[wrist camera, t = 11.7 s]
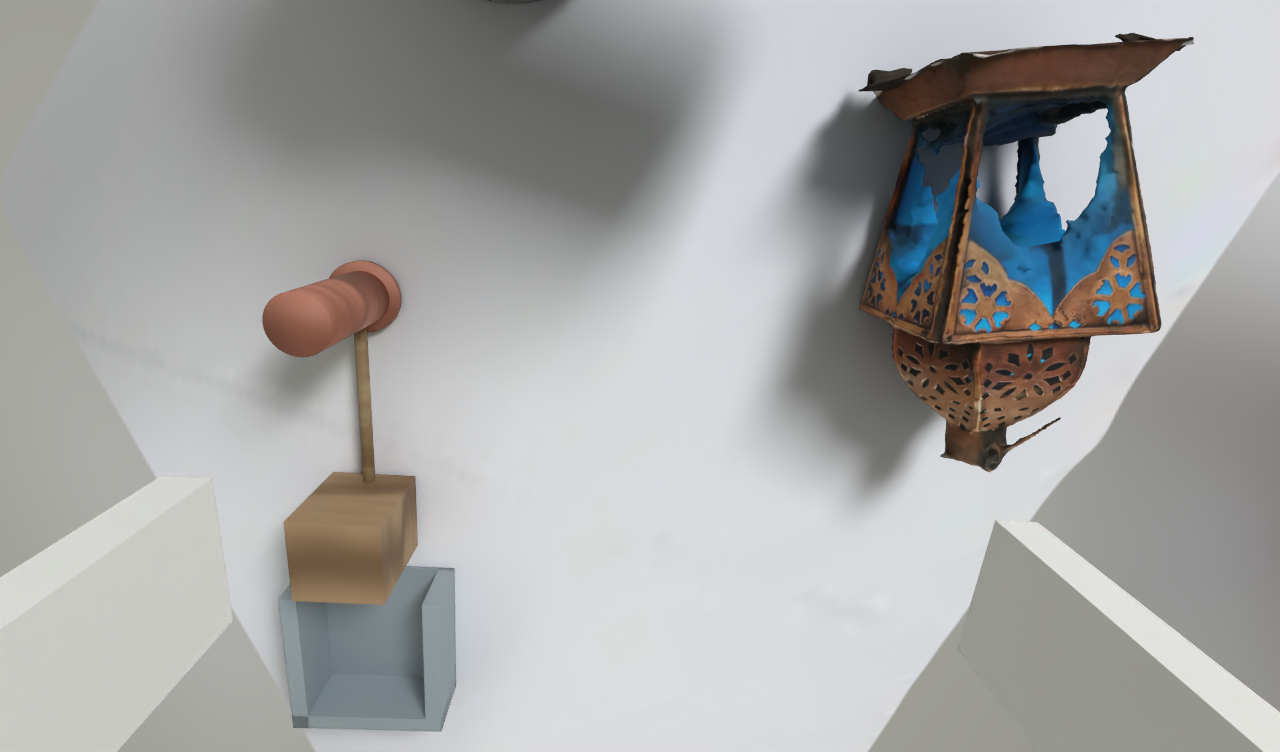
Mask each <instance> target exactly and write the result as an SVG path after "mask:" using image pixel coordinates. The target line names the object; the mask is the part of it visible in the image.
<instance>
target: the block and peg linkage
mask: <svg viewBox="0 0 1280 752" xmlns="http://www.w3.org/2000/svg"><path fill="white" fill-rule="evenodd" d="M400 308H401V292H400V288H399V286H398V284H397V282H396V280H395V279H394V277H393V276H392V275H391V274H390V273H389V272H388V271H387V270H386V269H384V268H383V267H381V266H380V265H378V264H375V263H373V262H369V261H354V262H350V263H346V264H344V265H342V266H340V267H338V268H337V269H336V270H335V271H334V272H333V273H332V274H331V276H330V277H329V279H326V280H323V281H320V282H317V283H313V284H310V285H307V286H304V287H300V288H297V289H294V290H291V291H287V292H284V293H281V294H279V295H276V296H275V297H273V298H272V299H271V300H270V301H269V302H268V303H267V305H266V306H265V309H264V312H263V318H262V319H263V327H264V330H265V333H266V335H267V337H268V338H269V340H270V341H271V342H272V343H273V344H274V345H275V346H276V347H277V348H278V349H279V350H281V351H282V352H284V353H286V354H289V355H292V356H296V357H309V356H313V355H315V354H318V353H319V352H321V351H323V350H325V349H327V348H329V347H330V346H332V345H334V344H336V343H338V342H339V341H341V340H343V339H345V338H347V337H349V336H350V335H352V334H354V339H355V355H356V371H357V387H358V403H359V419H360V435H361V451H362V468H363V474H362V473H344V472H333V473H332V474H331V475H330V476H329V477H328V478H327V479H326V480H325V481H324V482H323V483H322V484H321V485H320V486H319V487H318V488H317V489H316V490H315V491H314V492H313V493H312V494H311V495H310V496H309V497H308V498H307V499H306V500H305V501H304V502H303V503H302V504H301V505H300V506H299V507H298V508H297V509H296V510H295V511H294V512H293V513H292V514H291V515H290V516H289V517H288V518H287V519H286V520H285V521H284V530H285V539H286V548H287V558H288V567H289V576H290V585H291V594H292V601H303V602H328V603H352V604H377V605H385V603H386V601H387V599H388V597H389V596H390V594H391V592H392V590H393V588H394V587H395V585H396V583H397V581H398V579H399V578H400V576H401V574H402V572H403V570H404V569H405V567H406V565H407V563H408V561H409V560H410V558H411V556H412V554H413V552H414V551H415V549H416V547H417V545H418V544H417V514H416V484H415V476H398V475H380V474H375V466H374V448H373V430H372V412H371V394H370V376H369V358H368V340H367V332H373V331H377V330H380V329H382V328H384V327H385V326H387V325H389V324H390V323H391V322H392V321H393V320H394V319H395V318H396V317H397V315H398V313H399V311H400Z"/></svg>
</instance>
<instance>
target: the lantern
mask: <svg viewBox="0 0 1280 752" xmlns="http://www.w3.org/2000/svg"><path fill="white" fill-rule="evenodd" d="M1115 37H1117V38H1119V39H1121V40H1122V41H1123V42H1116V43H1104V44H1091V45H1077V44H1073V45H1057V46H1042V47H1024V48H1016V49H1009V50H1001V51H986V52H969V53H961V54H959V55H957V56H954V57H952V58H950V59H939V60H937V61H935V62H933V63H931V64H929V65H927V66H926V67H924V68H922V69H921V70H919V71H917V72H916V73H913V74H910V73H911V72H912V69H906V68H902V69H897V70H893V71H882V70H872V71H871V72H870V74H869V75H868V83H867V86H866V87H865V88H863V89H861V90H859V91H873V92H874V93H875V95H876V96H877V98H878V100H879V101H880V103H881V104H883V105H884V106H886V107H887V108H888V109H890V110H891V111H892V112H894V114H895V115H896V116H897V117H898V118H900V119H902V120H910V119H912V120H913V130H912V134H911V137H910V140H909V143H908V147H907V150H906V153H905V156H904V159H903V162H902V165H901V168H900V172H899V175H898V178H897V182H896V186H895V189H894V193H893V196H892V199H891V202H890V205H889V208H888V210H887V214H886V217H885V219H884V227H883V231H882V233H881V237H880V240H879V243H878V247H877V251H876V254H875V257H874V261H873V264H872V267H871V270H870V273H869V276H868V279H867V284H866V288H865V292H864V294H863V298H862V300H861V304H860V309H861V310H863V311H865V312H866V313H870V314H872V315H874V316H877V317H879V318H882V319H883V320H885V321H887V322H889V324H891V325H892V326H893V327H894V329H893V331H894V333H893V334H892V340H893V342H894V343H893V345H892V351H893V355H892V356H893V359H894V361H895V362H896V366H897V368H898V371H899V372H900V374H901V377H902V378H903V380H904V381H905V383H906V384H907V385H908V386H909V388H910V389H911V390H912V391H913V392H914V393H915V394H916V395H917V396H918V397H919V398H920V399H921V400H922V401H924V402H925V403H927V404H928V405H929V406H930V407H931V408H933V409H934V410H935V411H937V412H938V413H939V414H940V415H941V416H942V417H944V418H945V419H946V433H945V444H946V445H945V453H944V454H941V457H943V458H950V459H955V460H958V461H963V462H965V463H967V464H970V465H976V466H979V467H981V468H982V469H984V470H985V471H988V472H992V471H993V470H994V469H996V468H997V467H998V465H999V464H1000V463H1001V461H1002V458H1003V457H1004V456H1005V454H1006V453H1007V452H1008V451H1010V450H1011V449H1013V448H1014V447H1017V446H1018V445H1020V444H1022V443H1023V442H1024V441H1026V440H1028V439H1030V438H1031V437H1033V436H1035V435H1036V434H1038V433H1039V432H1040V431H1042V430H1043V429H1046V428H1047V427H1048V426H1050V425H1051V424H1053V423H1055V422H1057V421H1058V420H1060V419H1061V418H1058V419H1056V420H1054V421H1052V422H1051V423H1048V424H1046V425H1045V426H1043V427H1042V428H1041V429H1038V431H1036V432H1034V433H1032V434H1031V435H1029V436H1026V437H1024V438H1020V439H1019V440H1018V441H1017V442H1016V443H1014V444H1013V445H1007V443H1006V429H1007V427H1008V426H1010V425H1013V424H1015V423H1016V422H1018V421H1021V420H1024V419H1026V418H1028V417H1031V416H1033V415H1034V414H1036V413H1038V412H1039V411H1041V410H1043V409H1044V408H1046V407H1047V406H1049V405H1050V404H1052V403H1053V402H1055V401H1056V400H1058V399H1060V398H1061V397H1062V396H1064V395H1065V394H1066V393H1067V392H1068V391H1069V390H1070V389H1071V388H1073V387H1074V385H1075V384H1076V382H1077V381H1078V380H1079V378H1080V376H1081V374H1082V372H1083V370H1084V368H1085V364H1086V361H1087V355H1088V350H1089V345H1090V338H1091V336H1096V335H1126V334H1142V333H1153V332H1157V331H1159V330H1160V328H1161V318H1160V310H1159V304H1158V298H1157V294H1156V283H1155V276H1154V267H1153V261H1152V254H1151V246H1150V243H1149V235H1148V230H1147V224H1146V216H1145V212H1144V207H1143V200H1142V196H1141V190H1140V183H1139V178H1138V172H1137V168H1136V161H1135V156H1134V150H1133V146H1132V133H1131V125H1130V121H1129V112H1128V106H1127V101H1126V96H1125V90H1126V88H1127V87H1128V86H1130V85H1132V84H1133V83H1136V82H1138V81H1139V80H1141V79H1142V78H1143V77H1145V76H1146V75H1147V74H1149V73H1150V72H1151V71H1152V70H1153V69H1155V68H1156V67H1157V66H1158V65H1159V64H1160V63H1161V62H1163V61H1164V60H1165V59H1167V58H1168V57H1169V56H1170V55H1171V54H1172V53H1174V52H1175V51H1180V50H1181V49H1182V48H1183V47H1184V46H1185V45H1189V44H1194V42H1193V39H1194V38H1193V37H1189V38H1180V39H1154V38H1150V37H1146V36H1143V35H1139V34H1135V33H1130V34H1124V35H1122V34H1119V35H1116V36H1115ZM1105 108H1107V109H1108V113H1107V116H1106V119H1107V121H1108V123H1109V128H1110V129H1111V132H1110V134H1109V136H1107V137H1106V140H1107V143H1108V144H1107V147H1106V149H1105V150H1104V152H1103V153H1101V156H1100V167H1099V173H1098V178H1097V181H1096V183H1097V186H1096V190H1095V196H1094V198H1093V199H1092V200H1091V201H1090V203H1089V205H1088V206H1087V207H1086V208H1085V209H1084V211H1083V212H1082V214H1081V215H1080V216H1079V217H1078V218H1077V219H1076V220H1075V221H1069V220H1067V221H1066V223H1067V224H1068V227H1067V230H1066V231H1065V230H1063V229H1062V225H1061V217H1060V215H1059V214H1058V213H1057V209H1056V207H1055V205H1054V203H1053V202H1050V201H1047V200H1046V198H1045V192H1044V189H1043V184H1044V181H1043V178H1042V175H1041V171H1040V168H1039V160H1040V154H1039V148H1038V142H1039V137H1045V136H1052V135H1054V134H1055V133H1056V132H1055V131H1056V127H1057V125H1058V124H1061V123H1065V122H1067V121H1069V120H1071V119H1073V118H1075V117H1078V116H1080V115H1081V114H1088V113H1089V114H1091V113H1093V112H1095V111H1096V110H1098V109H1105ZM929 128H933V129H938V130H939V131H940V135H939V137H938V138H937V139H935V140H933V141H930V142H929V143H928V145H927V147H926V148H925V151H928V150H931V152H932V154H934V155H935V157H936V156H937V154H938V153H939V150H940V148H941V147H942V146H945V145H951V144H957V143H964V146H963V154H962V160H961V167H960V169H959V170H958V171H957V173H956V174H955V176H954V177H953V178H952V179H951V180H950V185H949V186H948V188H947V189H946V191H944V192H942V193H940V194H938V195H937V197H936V202H937V203H938V208H937V213H936V211H935V209H934V205H933V199H934V196H933V195H932V192H931V189H932V187H929V186H926V187H923V178H924V175H925V172H926V171H925V168H924V164H923V163H922V162H920V160H919V155H918V149H922V148H923V147H924V146H925V145H926V143H927V142H928V141H927V140H926V139H925V138H924V137H923V136H922V133H923V132H924V131H926V130H927V129H929ZM1016 141H1018V150H1017V153H1018V163H1017V173H1018V174H1017V176H1016V179H1017V183H1016V185H1015V187H1016V194H1017V195H1016V197H1015V199H1014V200H1015V202H1014V204H1013V205H1012V206H1011V208H1010V210H1009V211H1008V213H1007V214H1006V215H1004V216H1003V218H1002V219H1001V220H1000V221H999V216H998V213H997V212H996V211H995V210H994V209H993V208H992V207H990V206H989V205H987V204H985V203H983V202H981V201H979V200H978V199H977V198H976V192H977V188H979V187H980V185H979V181H978V179H977V176H978V167H979V162H980V158H981V149H982V143H984V145H983V146H992V145H1003V144H1008V143H1013V142H1016Z"/></svg>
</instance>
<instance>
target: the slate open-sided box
mask: <svg viewBox="0 0 1280 752" xmlns="http://www.w3.org/2000/svg"><path fill="white" fill-rule="evenodd" d="M278 601H279V609H280V618H281V626H282V635H283V643H284V652H285V660H286V669H287V677H288V686H289V694H290V703H291V711H292V720H293V727H294V728H327V729H363V730H400V731H436V732H441V731H442V728H443V725H444V722H445V718H446V715H447V712H448V709H449V706H450V703H451V700H452V697H453V693H454V690H455V687H456V664H455V581H454V568H434V567H412V566H406V567H405V569H404V570H403V572H402V574H401V576H400V578H399V579H398V581H397V583H396V585H395V587H394V588H393V590H392V592H391V594H390V596H389V597H388V599H387V601H386V603H385V605H377V604H352V603H328V602H303V601H292V594H291V585H290V586H289V587H288V588H287V589H286V590H285V592H284V593H283V594H282V595H281V597H280V598H279V599H278Z"/></svg>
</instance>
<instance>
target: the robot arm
mask: <svg viewBox="0 0 1280 752" xmlns="http://www.w3.org/2000/svg"><path fill="white" fill-rule="evenodd" d="M489 1H493V2H500V3H527V2H534V1H539V0H489ZM232 621H233V616H232V609H231V602H230V596H229V589H228V582H227V575H226V568H225V562H224V555H223V548H222V541H221V534H220V527H219V521H218V514H217V507H216V500H215V493H214V487H213V480H212V478H200V477H182V476H163V475H162V476H161V477H159V478H157V479H156V480H154V481H153V482H151V483H149V484H148V485H146V486H145V487H143V488H142V489H140V490H138V491H137V492H135V493H134V494H132V495H130V496H129V497H127V498H126V499H124V500H123V501H121V502H119V503H118V504H116V505H115V506H113V507H111V508H110V509H108V510H107V511H105V512H103V513H102V514H100V515H99V516H97V517H95V518H94V519H92V520H91V521H89V522H88V523H86V524H85V525H83V526H81V527H80V528H78V529H76V530H75V531H73V532H72V533H70V534H68V535H67V536H65V537H64V538H62V539H61V540H59V541H57V542H56V543H54V544H53V545H51V546H49V547H48V548H46V549H45V550H43V551H41V552H40V553H38V554H37V555H35V556H34V557H32V558H30V559H29V560H27V561H26V562H24V563H22V564H21V565H20V566H18V567H16V568H14V569H13V570H11V571H10V572H8V573H7V574H5V575H3V576H2V577H0V752H117V751H118V750H119V749H120V748H121V746H122V745H123V744H124V743H125V742H126V741H127V740H128V739H129V737H130V736H131V735H132V734H133V733H134V732H135V731H136V730H137V728H138V727H139V726H140V725H141V724H142V723H143V722H144V721H145V719H146V718H147V717H148V716H149V715H150V714H151V713H152V712H153V710H154V709H155V708H156V707H157V706H158V705H159V704H160V702H161V701H162V700H163V699H164V698H165V697H166V696H167V695H168V693H169V692H170V691H171V690H172V689H173V688H174V687H175V686H176V684H177V683H178V682H179V681H180V680H181V679H182V678H183V676H184V675H185V674H186V673H187V672H188V671H189V670H190V669H191V668H192V666H193V665H194V664H195V663H196V662H197V661H198V660H199V659H200V657H201V656H202V655H203V654H204V653H205V652H206V651H207V650H208V648H209V647H210V646H211V645H212V644H213V643H214V642H215V640H216V639H217V638H218V637H219V636H220V635H221V633H222V632H223V631H224V630H225V629H226V628H227V627H228V626H229V625H230V624H231V622H232ZM957 649H958V650H959V652H960V653H961V654H962V656H963V657H964V658H965V660H966V661H967V662H968V664H969V665H970V666H971V668H972V669H973V670H974V672H975V673H976V674H977V676H978V677H979V678H980V680H981V681H982V682H983V684H984V685H985V686H986V688H987V689H988V690H989V692H990V693H991V694H992V696H993V697H994V698H995V700H996V701H997V702H998V704H999V705H1000V706H1001V708H1002V709H1003V711H1004V712H1005V713H1006V715H1007V716H1008V717H1009V718H1010V720H1011V721H1012V723H1013V724H1014V725H1015V727H1016V728H1017V729H1018V731H1019V732H1020V733H1021V735H1022V736H1023V737H1024V739H1025V740H1026V741H1027V743H1028V744H1029V745H1030V746H1031V748H1032V749H1033V751H1034V752H1280V713H1279V712H1278V711H1277V710H1276V709H1275V708H1273V707H1272V706H1271V705H1269V704H1268V703H1267V702H1266V701H1264V700H1263V699H1262V698H1261V697H1259V696H1258V695H1257V694H1255V693H1254V692H1253V691H1252V690H1250V689H1249V688H1248V687H1246V686H1245V685H1244V684H1243V683H1241V682H1240V681H1239V680H1238V679H1236V678H1235V677H1234V676H1233V675H1231V674H1230V673H1228V672H1227V671H1226V670H1225V669H1223V668H1222V667H1221V666H1220V665H1218V664H1217V663H1216V662H1214V661H1213V660H1212V659H1211V658H1210V657H1208V656H1207V655H1206V654H1204V653H1203V652H1202V651H1201V650H1199V649H1198V648H1197V647H1195V646H1194V645H1193V644H1192V643H1190V642H1189V641H1188V640H1187V639H1185V638H1184V637H1183V636H1182V635H1180V634H1179V633H1177V632H1176V631H1175V630H1174V629H1173V628H1171V627H1170V626H1169V625H1167V624H1166V623H1165V622H1164V621H1162V620H1161V619H1160V618H1159V617H1157V616H1156V615H1155V614H1153V613H1152V612H1151V611H1150V610H1148V609H1147V608H1146V607H1145V606H1143V605H1142V604H1141V603H1139V602H1138V601H1137V600H1136V599H1134V598H1133V597H1132V596H1130V595H1129V594H1128V593H1127V592H1125V591H1124V590H1123V589H1122V588H1120V587H1119V586H1118V585H1116V584H1115V583H1114V582H1113V581H1111V580H1110V579H1109V578H1108V577H1106V576H1105V575H1104V574H1102V573H1101V572H1100V571H1098V570H1097V569H1096V568H1095V567H1093V566H1092V565H1091V564H1090V563H1088V562H1087V561H1086V560H1085V559H1083V558H1082V557H1081V556H1080V555H1078V554H1077V553H1076V552H1074V551H1073V550H1072V549H1071V548H1069V547H1068V546H1067V545H1066V544H1064V543H1063V542H1062V541H1060V540H1059V539H1058V538H1056V537H1055V536H1054V535H1053V534H1051V533H1050V532H1049V531H1048V530H1046V529H1045V528H1044V527H1043V526H1041V525H1040V524H1039V523H1037V522H1022V521H1004V520H995V523H994V527H993V530H992V533H991V537H990V540H989V543H988V547H987V550H986V553H985V557H984V560H983V563H982V567H981V570H980V574H979V577H978V580H977V584H976V587H975V590H974V594H973V597H972V600H971V604H970V607H969V611H968V614H967V617H966V621H965V624H964V627H963V631H962V634H961V637H960V641H959V644H958V648H957Z"/></svg>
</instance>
